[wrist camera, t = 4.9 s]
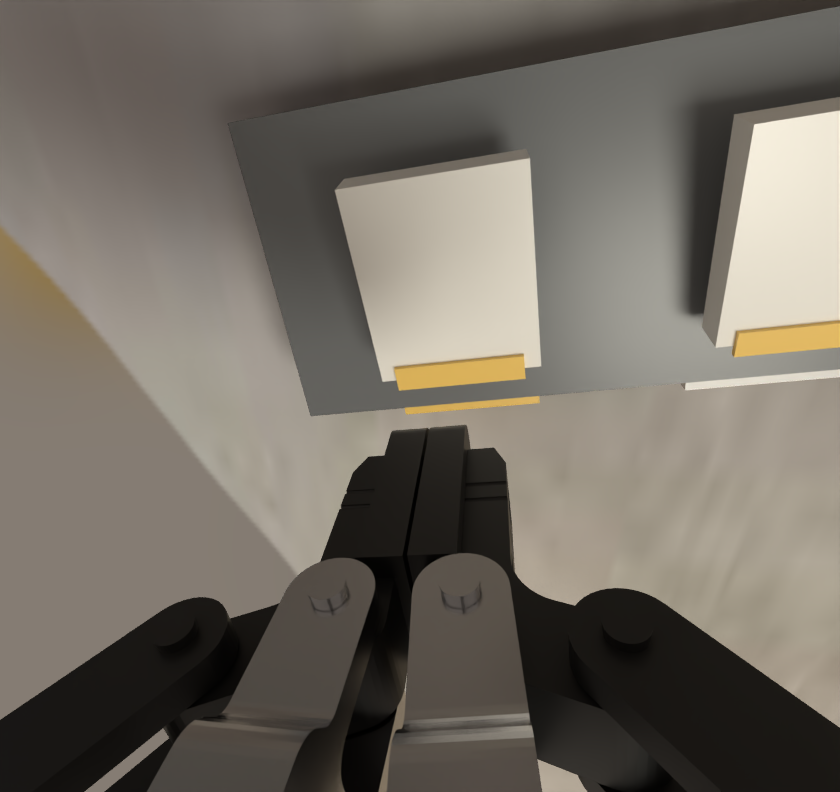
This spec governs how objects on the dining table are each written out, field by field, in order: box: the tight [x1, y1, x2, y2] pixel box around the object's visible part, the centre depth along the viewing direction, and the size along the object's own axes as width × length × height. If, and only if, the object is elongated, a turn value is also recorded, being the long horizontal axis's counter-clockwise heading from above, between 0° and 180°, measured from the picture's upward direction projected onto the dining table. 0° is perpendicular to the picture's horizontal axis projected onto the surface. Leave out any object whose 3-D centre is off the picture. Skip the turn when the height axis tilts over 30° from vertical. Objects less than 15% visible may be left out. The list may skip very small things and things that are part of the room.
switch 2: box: [702, 97, 840, 357], centre depth 14 cm, size 6×5×1 cm
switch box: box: [228, 6, 840, 416], centre depth 17 cm, size 11×32×4 cm, turn 99°
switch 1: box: [335, 149, 541, 391], centre depth 16 cm, size 6×5×1 cm
